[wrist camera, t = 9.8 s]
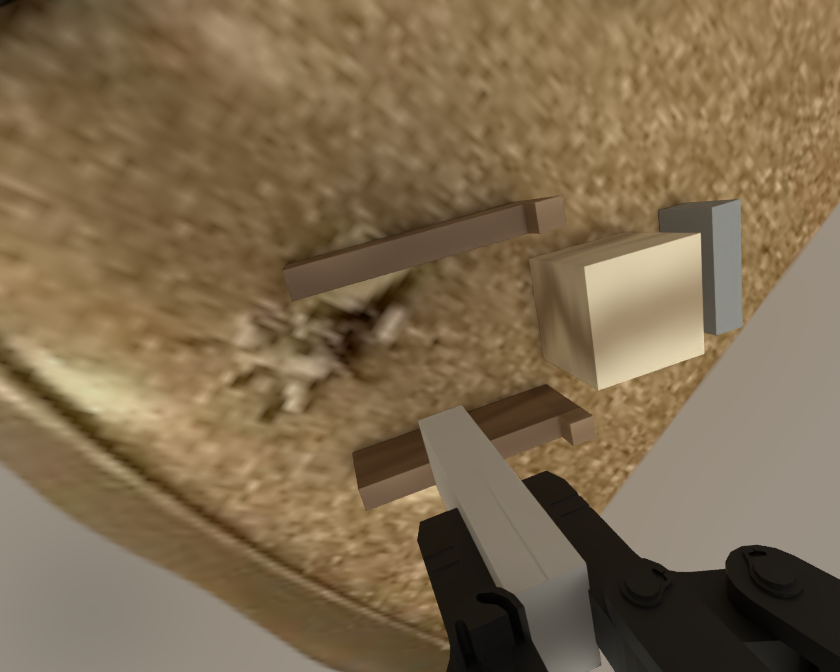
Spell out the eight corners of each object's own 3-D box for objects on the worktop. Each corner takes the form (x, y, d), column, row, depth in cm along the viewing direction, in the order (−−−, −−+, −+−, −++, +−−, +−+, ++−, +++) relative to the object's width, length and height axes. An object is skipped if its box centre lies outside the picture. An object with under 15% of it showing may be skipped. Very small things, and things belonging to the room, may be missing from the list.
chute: (287, 264, 23) (279, 273, 18) (515, 201, 25) (562, 195, 21) (359, 472, 27) (368, 525, 22) (549, 403, 30) (596, 437, 25)
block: (527, 258, 27) (584, 266, 21) (622, 232, 28) (700, 232, 22) (543, 358, 29) (598, 390, 23) (631, 330, 30) (704, 353, 24)
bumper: (658, 210, 28) (712, 207, 24) (683, 203, 28) (740, 199, 24) (666, 322, 30) (716, 335, 27) (689, 314, 31) (742, 326, 27)
